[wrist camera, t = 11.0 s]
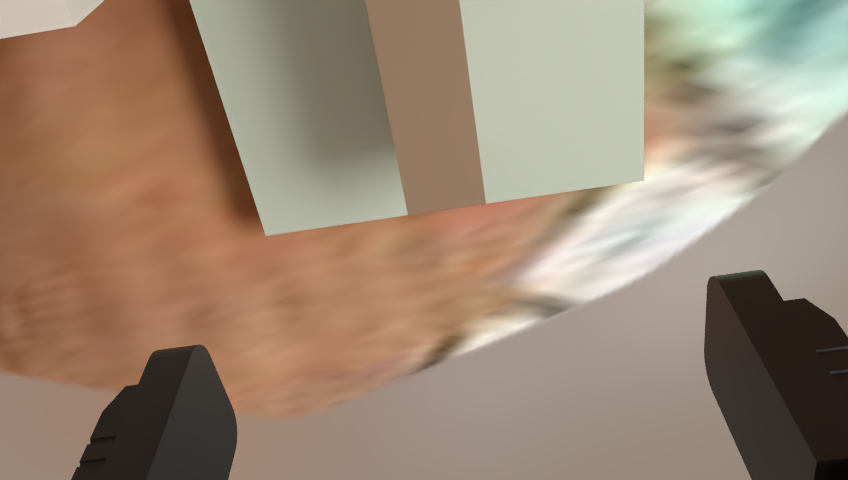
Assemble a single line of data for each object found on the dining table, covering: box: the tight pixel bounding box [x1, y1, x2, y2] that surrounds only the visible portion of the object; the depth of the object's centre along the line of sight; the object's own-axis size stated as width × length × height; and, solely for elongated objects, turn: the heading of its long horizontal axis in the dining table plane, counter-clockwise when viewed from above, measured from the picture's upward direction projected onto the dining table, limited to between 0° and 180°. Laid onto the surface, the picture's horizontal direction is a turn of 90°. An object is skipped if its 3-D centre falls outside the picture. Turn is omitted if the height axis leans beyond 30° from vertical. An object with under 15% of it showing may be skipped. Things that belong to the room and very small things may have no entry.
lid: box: [189, 0, 644, 236], centre depth 25 cm, size 15×15×7 cm
